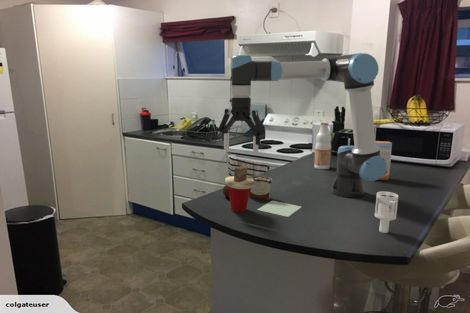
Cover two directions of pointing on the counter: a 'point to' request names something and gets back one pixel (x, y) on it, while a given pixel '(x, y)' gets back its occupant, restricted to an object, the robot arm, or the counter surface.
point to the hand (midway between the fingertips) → (240, 150)
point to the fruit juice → (323, 147)
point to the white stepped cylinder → (386, 209)
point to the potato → (226, 191)
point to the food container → (261, 187)
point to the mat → (279, 208)
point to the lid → (240, 178)
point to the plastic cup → (238, 198)
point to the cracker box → (385, 156)
